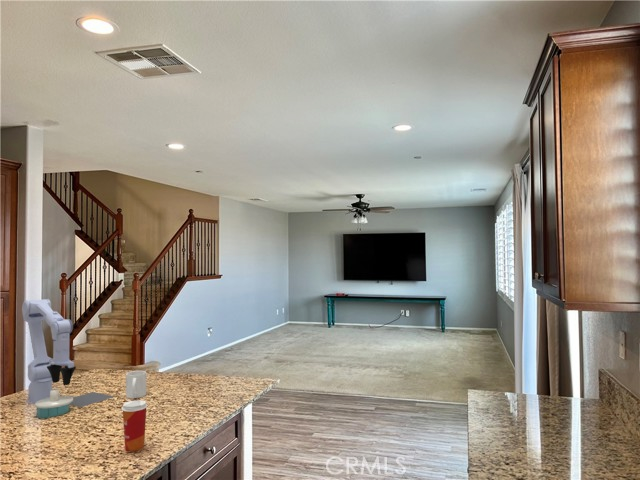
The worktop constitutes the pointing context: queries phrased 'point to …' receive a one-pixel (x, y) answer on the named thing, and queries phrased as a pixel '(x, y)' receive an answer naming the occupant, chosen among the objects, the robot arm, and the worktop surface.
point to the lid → (54, 400)
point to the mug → (136, 384)
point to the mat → (89, 399)
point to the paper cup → (134, 424)
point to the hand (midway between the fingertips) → (61, 383)
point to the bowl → (52, 411)
